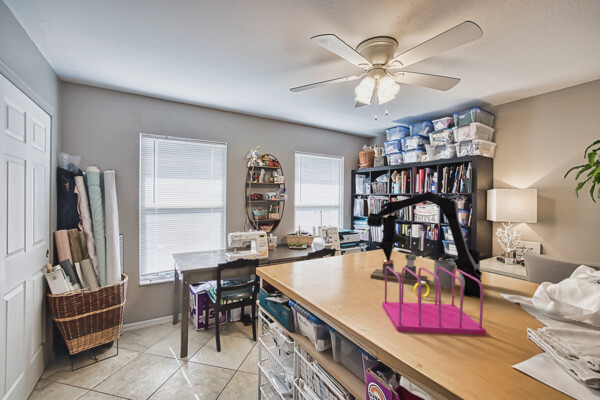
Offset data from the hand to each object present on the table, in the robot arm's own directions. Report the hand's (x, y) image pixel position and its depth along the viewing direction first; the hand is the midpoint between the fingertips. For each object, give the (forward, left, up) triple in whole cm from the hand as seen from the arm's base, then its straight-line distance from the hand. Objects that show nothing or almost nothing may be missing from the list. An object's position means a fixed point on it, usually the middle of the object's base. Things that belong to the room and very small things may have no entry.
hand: (388, 260), depth 128 cm
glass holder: (+7, -33, -8) cm, 35 cm away
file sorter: (-39, -19, -9) cm, 44 cm away
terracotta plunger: (0, 0, -6) cm, 7 cm away
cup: (+2, -24, -8) cm, 26 cm away
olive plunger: (0, -10, -3) cm, 10 cm away
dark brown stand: (0, -5, -8) cm, 10 cm away
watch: (-19, -16, -8) cm, 26 cm away
